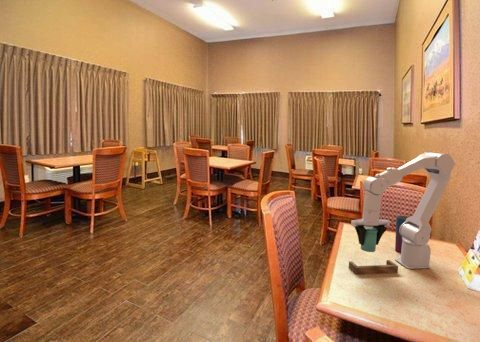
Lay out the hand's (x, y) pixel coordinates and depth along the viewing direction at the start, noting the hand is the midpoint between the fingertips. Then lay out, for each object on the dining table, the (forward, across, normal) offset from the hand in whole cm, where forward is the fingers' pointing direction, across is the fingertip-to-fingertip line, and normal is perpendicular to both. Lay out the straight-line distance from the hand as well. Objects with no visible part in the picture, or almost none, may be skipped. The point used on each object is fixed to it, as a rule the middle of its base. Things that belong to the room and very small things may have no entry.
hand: (368, 244), depth 112 cm
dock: (+8, 0, +4) cm, 9 cm away
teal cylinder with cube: (+2, 0, -1) cm, 2 cm away
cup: (+9, -23, -11) cm, 27 cm away
